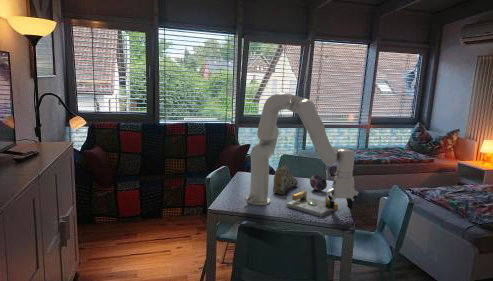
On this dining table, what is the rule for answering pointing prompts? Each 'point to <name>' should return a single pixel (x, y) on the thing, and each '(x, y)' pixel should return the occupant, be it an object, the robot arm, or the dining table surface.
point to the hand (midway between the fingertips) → (340, 208)
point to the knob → (329, 203)
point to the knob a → (300, 195)
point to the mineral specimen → (318, 182)
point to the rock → (283, 180)
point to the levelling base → (310, 206)
